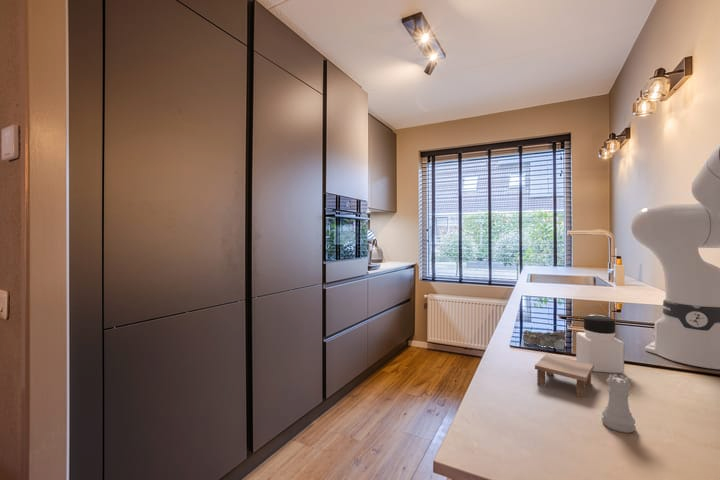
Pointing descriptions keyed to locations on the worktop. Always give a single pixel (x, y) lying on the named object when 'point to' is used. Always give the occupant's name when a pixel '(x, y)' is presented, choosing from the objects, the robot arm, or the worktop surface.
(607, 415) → the rook chess piece
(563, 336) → the mossy rock
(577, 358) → the medicine bottle
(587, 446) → the worktop surface
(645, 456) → the worktop surface
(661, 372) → the worktop surface
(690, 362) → the robot arm
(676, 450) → the worktop surface
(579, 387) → the footstool
